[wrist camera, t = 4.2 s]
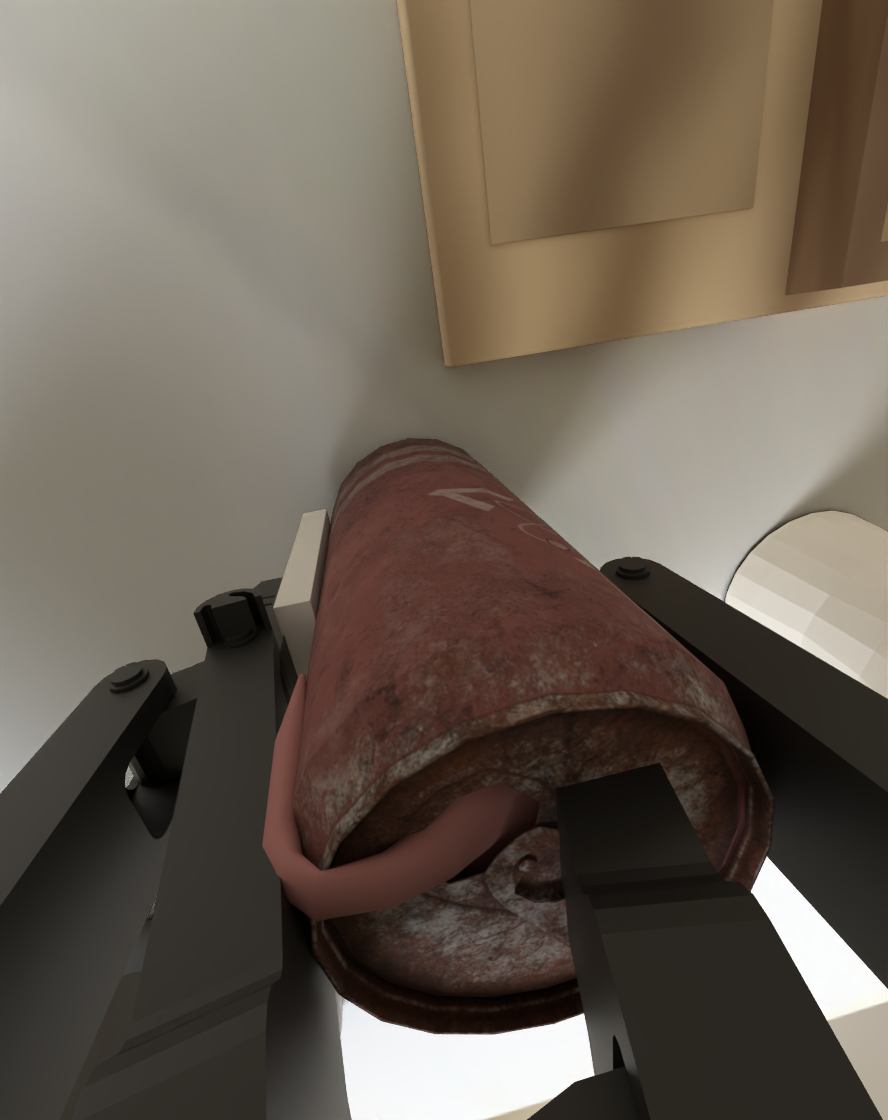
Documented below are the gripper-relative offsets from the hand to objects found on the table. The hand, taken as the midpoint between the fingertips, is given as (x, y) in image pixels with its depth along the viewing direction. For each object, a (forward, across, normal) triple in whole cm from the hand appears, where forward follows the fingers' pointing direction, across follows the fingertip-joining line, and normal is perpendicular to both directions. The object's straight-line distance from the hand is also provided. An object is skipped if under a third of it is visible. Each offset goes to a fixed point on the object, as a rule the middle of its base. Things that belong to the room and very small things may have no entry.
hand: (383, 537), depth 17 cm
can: (+2, +1, 0) cm, 2 cm away
